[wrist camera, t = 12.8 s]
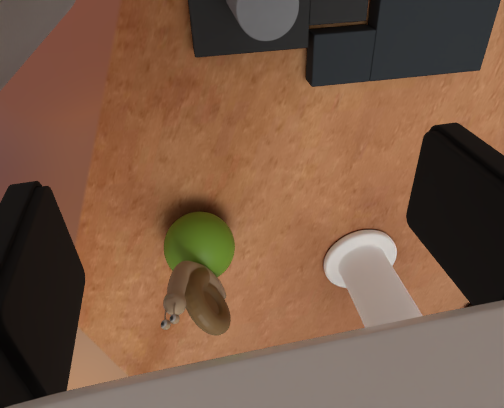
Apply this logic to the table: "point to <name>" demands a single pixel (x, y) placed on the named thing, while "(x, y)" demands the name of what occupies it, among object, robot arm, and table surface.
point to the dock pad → (403, 42)
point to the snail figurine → (198, 271)
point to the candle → (370, 277)
